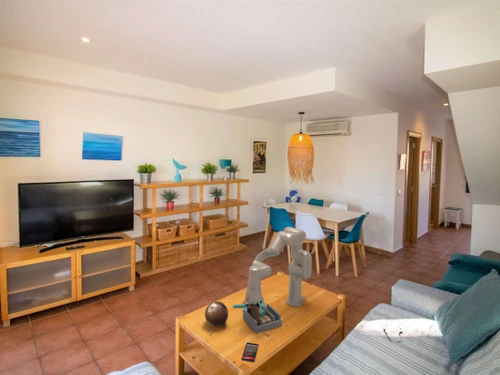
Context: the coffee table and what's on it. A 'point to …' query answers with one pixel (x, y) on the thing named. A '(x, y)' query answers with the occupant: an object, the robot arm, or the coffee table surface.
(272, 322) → the rack
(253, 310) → the brown block
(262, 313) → the offcut teal
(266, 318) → the offcut beech
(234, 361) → the coffee table surface
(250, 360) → the smartphone
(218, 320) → the wooden sphere
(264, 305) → the alien figure
